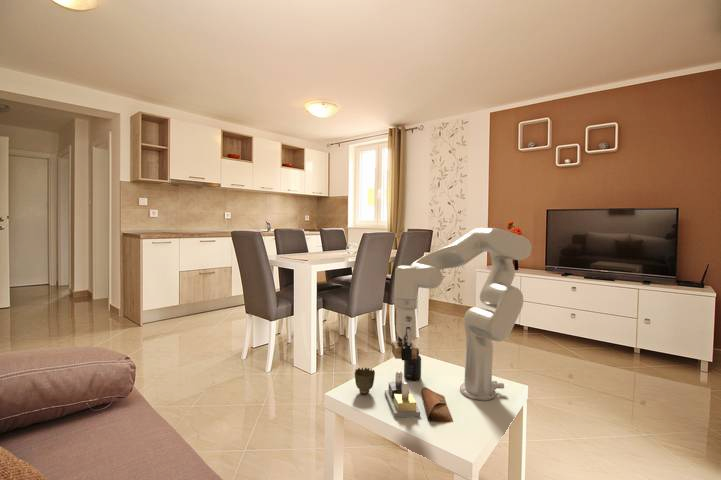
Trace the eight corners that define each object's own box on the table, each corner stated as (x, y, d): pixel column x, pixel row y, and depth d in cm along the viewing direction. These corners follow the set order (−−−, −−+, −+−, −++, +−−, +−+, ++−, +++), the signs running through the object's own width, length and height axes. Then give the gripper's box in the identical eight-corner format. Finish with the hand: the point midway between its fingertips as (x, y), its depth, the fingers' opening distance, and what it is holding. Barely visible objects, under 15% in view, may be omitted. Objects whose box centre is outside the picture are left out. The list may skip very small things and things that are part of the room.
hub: (411, 402, 121) (411, 378, 120) (416, 411, 115) (416, 386, 115) (393, 402, 120) (394, 379, 120) (398, 412, 114) (398, 387, 114)
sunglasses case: (455, 422, 111) (445, 404, 111) (435, 433, 112) (425, 414, 112) (444, 395, 129) (435, 379, 129) (427, 404, 130) (418, 388, 130)
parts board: (407, 393, 130) (407, 389, 130) (420, 416, 115) (420, 412, 115) (384, 394, 129) (384, 390, 129) (394, 417, 114) (394, 413, 113)
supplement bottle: (408, 373, 148) (409, 344, 148) (423, 377, 144) (424, 348, 144) (400, 378, 143) (401, 349, 142) (415, 383, 139) (416, 353, 138)
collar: (411, 351, 123) (411, 341, 123) (416, 358, 116) (416, 347, 116) (391, 351, 122) (391, 341, 122) (395, 358, 115) (395, 348, 115)
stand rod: (404, 390, 130) (405, 367, 129) (408, 398, 124) (409, 374, 123) (388, 390, 129) (389, 368, 129) (391, 398, 123) (392, 375, 123)
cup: (372, 399, 126) (373, 376, 125) (352, 396, 127) (352, 374, 127) (375, 389, 133) (376, 368, 133) (356, 387, 134) (357, 366, 134)
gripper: (423, 309, 110) (421, 366, 111) (410, 297, 128) (408, 347, 128) (399, 309, 110) (397, 366, 110) (389, 297, 127) (388, 347, 128)
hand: (403, 355), depth 119 cm, fingers closed on collar, 7 cm apart
